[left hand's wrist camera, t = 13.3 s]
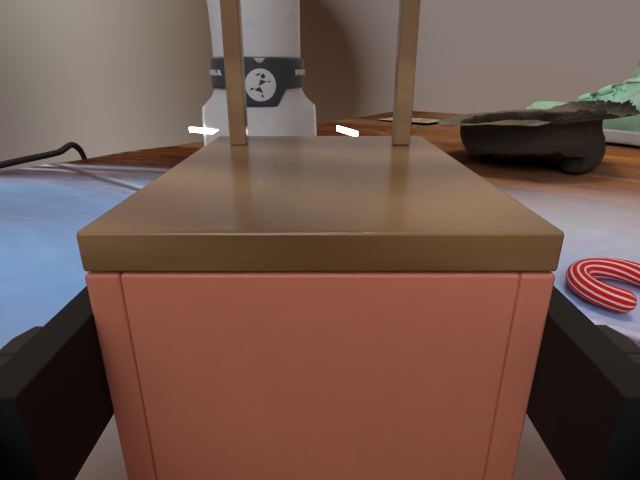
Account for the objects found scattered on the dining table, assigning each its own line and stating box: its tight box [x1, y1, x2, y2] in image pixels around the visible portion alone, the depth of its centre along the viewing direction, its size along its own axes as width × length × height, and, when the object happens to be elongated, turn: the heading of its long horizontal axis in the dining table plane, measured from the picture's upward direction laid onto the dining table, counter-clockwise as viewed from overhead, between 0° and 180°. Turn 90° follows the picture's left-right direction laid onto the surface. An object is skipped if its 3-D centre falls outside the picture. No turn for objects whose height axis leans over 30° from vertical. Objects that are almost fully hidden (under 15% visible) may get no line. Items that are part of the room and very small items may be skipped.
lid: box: [77, 0, 564, 271], centre depth 14 cm, size 13×10×9 cm
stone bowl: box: [437, 99, 640, 174], centre depth 63 cm, size 25×25×9 cm
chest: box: [85, 271, 555, 480], centre depth 17 cm, size 13×10×9 cm
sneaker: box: [527, 63, 640, 147], centre depth 79 cm, size 14×35×20 cm, turn 42°
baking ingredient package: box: [378, 118, 439, 123], centre depth 114 cm, size 9×1×15 cm
